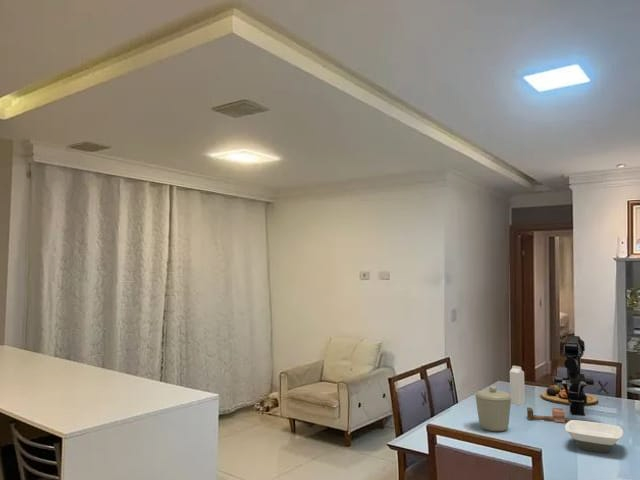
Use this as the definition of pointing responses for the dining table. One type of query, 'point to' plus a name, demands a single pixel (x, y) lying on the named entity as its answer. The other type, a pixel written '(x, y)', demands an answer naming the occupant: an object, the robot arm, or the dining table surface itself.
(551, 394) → the wooden plate with food
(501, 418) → the canister
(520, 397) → the milk
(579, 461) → the dining table surface
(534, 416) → the rail
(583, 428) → the bowl
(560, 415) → the block
